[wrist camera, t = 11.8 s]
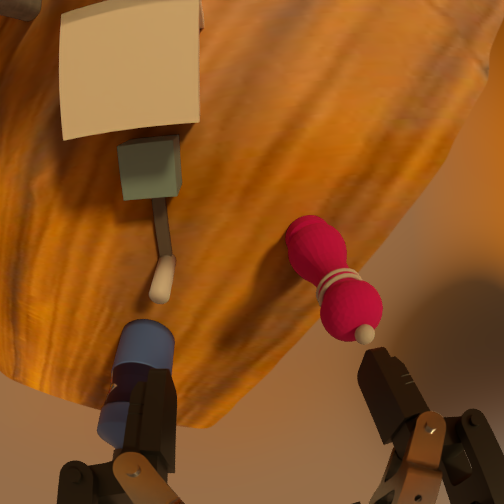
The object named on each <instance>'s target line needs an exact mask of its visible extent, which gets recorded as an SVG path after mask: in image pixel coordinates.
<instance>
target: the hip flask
mask: <svg viewBox="0 0 504 504" xmlns="http://www.w3.org/2000/svg"><path fill="white" fill-rule="evenodd" d="M41 2H42V0H0V15H2V16H7V17H11V18H15V19H19V20H23V21H31V20H33V19H34V18H35V17H36V16H37V15H38V14H39V12H40V9H41Z"/></svg>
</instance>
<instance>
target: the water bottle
mask: <svg viewBox="0 0 504 504" xmlns="http://www.w3.org/2000/svg"><path fill="white" fill-rule="evenodd" d="M174 344H175V341H174V337H173V335H172V333H171V331H170V330H169V329H168V328H166V327H165V326H164V325H162V324H160V323H158V322H156V321H153V320H148V319H137V320H133V321H131V322H129V323H128V324H127V325H125V327H124V328H123V331H122V335H121V338H120V342H119V345H118V349H117V352H116V356H115V360H114V364H113V368H112V372H111V387H110V390H109V393H108V396H107V398H106V401H105V404H104V406H103V407H102V409H101V413H100V418H99V422H98V427H97V433H98V435H99V436H100V437H101V438H102V439H103V440H104V441H106V442H107V443H109V444H110V445H112V446H113V447H114V448H115V450H114V453H113V460H114V459H115V458H117V457H118V456H119V454H120V453H121V451H122V448H123V442H124V435H125V428H126V421H127V415H128V408H129V405H130V404H129V402H130V396H131V391H132V390H133V388H134V387H135V385H136V384H137V382H138V381H140V382H147V380H148V373H149V370H150V369H151V368H157V369H165V368H168V369H169V370H170V373H171V375H172V364H173V354H174Z"/></svg>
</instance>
